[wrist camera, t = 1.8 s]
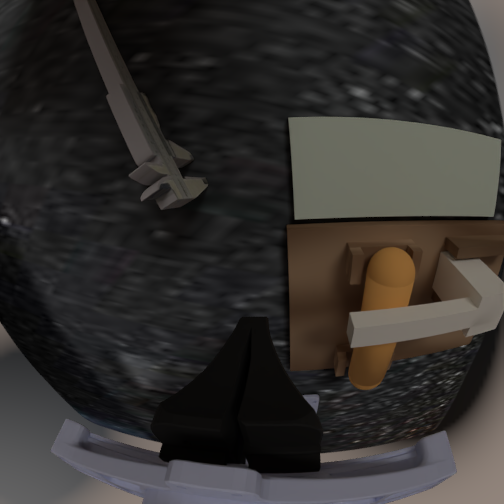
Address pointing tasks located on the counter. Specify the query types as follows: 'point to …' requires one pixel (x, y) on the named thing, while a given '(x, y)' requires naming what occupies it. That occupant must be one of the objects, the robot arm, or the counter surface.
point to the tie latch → (437, 307)
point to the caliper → (138, 120)
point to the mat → (390, 169)
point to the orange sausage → (376, 298)
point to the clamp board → (354, 276)
